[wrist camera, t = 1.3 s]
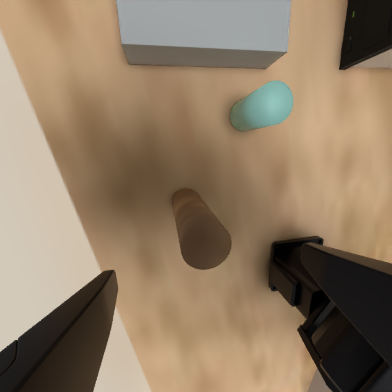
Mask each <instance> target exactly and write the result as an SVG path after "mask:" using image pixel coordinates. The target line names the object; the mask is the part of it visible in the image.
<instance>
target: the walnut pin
mask: <svg viewBox="0 0 392 392" xmlns="http://www.w3.org/2000/svg"><path fill="white" fill-rule="evenodd" d="M172 205H173V210H174V216H175V221H176V226H177V232H178V237H179V242H180V248H181V253H182V256H183V259H184V260H185V262H186V263H187V264H189V265H190V266H191V267H193V268H196V269H202V270H205V269H211V268H214V267H216V266H218V265H220V264H221V263H222V262H223V261H224V260H225V259H226V258H227V256H228V255H229V253H230V250H231V237H230V235H229V233H228V232H227V230H226V229H225V228H224V226H223V225H222V224H221V223H220V221H219V220H218V219H217V218H216V216H215V215H214V214H213V213H212V211H211V210H210V209H209V208H208V206H207V205H206V204H205V203H204V201H203V200H202V199H201V198H200V196H199V195H198V194H197V193H196V192H195V191H194V190H192V189H189V188H184V189H181V190H179V191H177V192H176V193H175V195H174V196H173V199H172Z"/></svg>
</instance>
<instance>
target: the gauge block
mask: <svg viewBox="0 0 392 392" xmlns="http://www.w3.org/2000/svg"><path fill="white" fill-rule="evenodd" d="M116 2H117V10H118V18H119V27H120V35H121V43H122V46H123V49H124V51H125V54H126V57H127V59H128V62H129V64H141V65H172V66H203V67H234V68H267V67H269V66H270V65H271V64H272V63H274V62H275V61H276V60H278V59H279V58H280V57H281V56H283V55H284V54H285V53H287V50H288V36H289V23H290V9H291V0H116Z"/></svg>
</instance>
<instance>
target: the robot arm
mask: <svg viewBox="0 0 392 392" xmlns="http://www.w3.org/2000/svg"><path fill="white" fill-rule="evenodd" d="M277 246H278V247H277ZM276 247H277V248H276ZM269 280H270V281H269V288H270V289H271V290H272V291H279V292H280V293H281V294H282V296H283V297H284V298H285V299H286V300H287V302H288V303H289V304H290V305H291V306H292V307H294V306H295V307H296V308H297V309H298V310H299V311H300V312H301V314H302V315H303V316H304V317H305V318H306V321H305V322H304V323H303V324H302V325H300V326H299V328H298V329H297V331H298V332H299V334H300V336H301V338H302V340H303V342H304V344H305V346H306V348H307V350H308V352H309V353H310V355H311V357H312V359H313V361H314V363H315V364H316V366H317V368H318V370H319V372H320V373H321V375H322V377H323V379H324V381H325V383H326V385H327V386H328V387H329V388H330V389H331V390H332V392H392V264H391V263H387V262H383V261H380V260H376V259H372V258H368V257H364V256H360V255H357V254H353V253H349V252H345V251H341V250H338V249H334V248H330V247H326V246H323V239H322V238H320V237H310V238H303V239H295V240H288V241H280V242H275V243H273V245H272V253H271V262H270V274H269ZM117 293H118V284H117V279H116V273H115V271H114V270H107V271H103V272H102V273H101V274H100V275H98V276H97V277H96V278H94V279H93V280H92V281H91V282H89V283H88V284H87V285H86V286H84V287H83V288H82V289H80V290H79V291H78V292H76V293H75V294H74V295H73V296H71V297H70V298H69V299H68V300H66V301H65V302H64V303H62V304H61V305H60V306H59V307H57V308H56V309H55V310H53V311H52V312H51V313H50V314H49V315H47V316H46V317H44V318H43V319H42V320H41V321H39V322H38V323H37V324H36V325H34V326H33V327H32V328H30V329H29V330H28V331H27V332H25V333H24V334H23V335H21V336H20V337H19V338H18V340H15V341H14V342H12V343H11V344H10V345H9V346H7V347H6V348H5V349H4V350H2V351H1V352H0V392H93V390H94V386H95V383H96V380H97V376H98V373H99V369H100V366H101V362H102V359H103V355H104V352H105V349H106V345H107V341H108V338H109V335H110V331H111V326H112V321H113V315H114V310H115V304H116V299H117Z"/></svg>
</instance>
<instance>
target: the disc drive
mask: <svg viewBox="0 0 392 392" xmlns="http://www.w3.org/2000/svg"><path fill="white" fill-rule="evenodd" d="M350 67H357V68H392V0H348V7H347V15H346V22H345V30H344V38H343V45H342V53H341V61H340V68H339V70H345V69H348V68H350Z"/></svg>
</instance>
